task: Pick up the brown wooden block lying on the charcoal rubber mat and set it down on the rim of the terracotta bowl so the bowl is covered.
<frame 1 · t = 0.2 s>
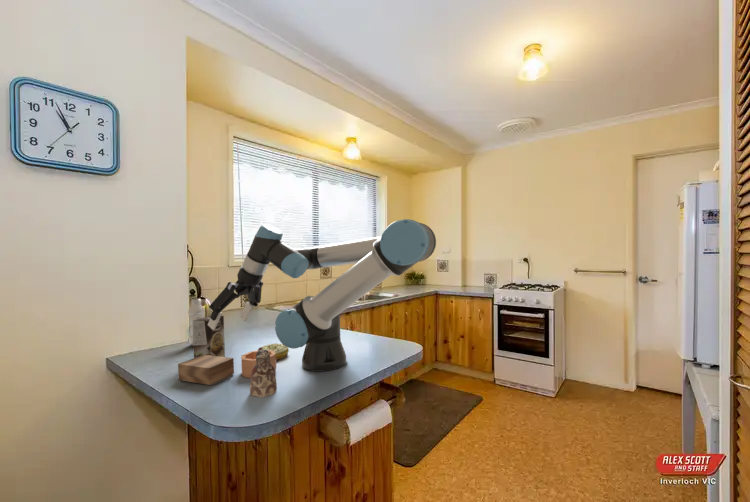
hand: (227, 323, 112), 16 cm above the countertop, fingers open, 13 cm apart
coffee box: (210, 362, 121), on the countertop
plastic bottle: (197, 345, 144), on the countertop
mat: (206, 377, 106), on the countertop
brown wooden block: (206, 376, 106), resting on mat
bowl: (259, 371, 109), on the countertop
decorated donut: (272, 358, 124), on the countertop
figurine: (263, 392, 93), on the countertop
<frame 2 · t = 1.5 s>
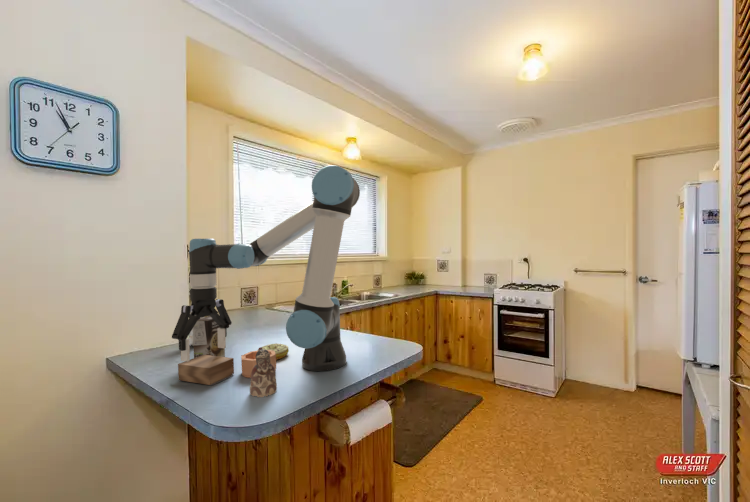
hand: (204, 353, 106), 8 cm above the countertop, fingers open, 13 cm apart
nothing on the countertop moved.
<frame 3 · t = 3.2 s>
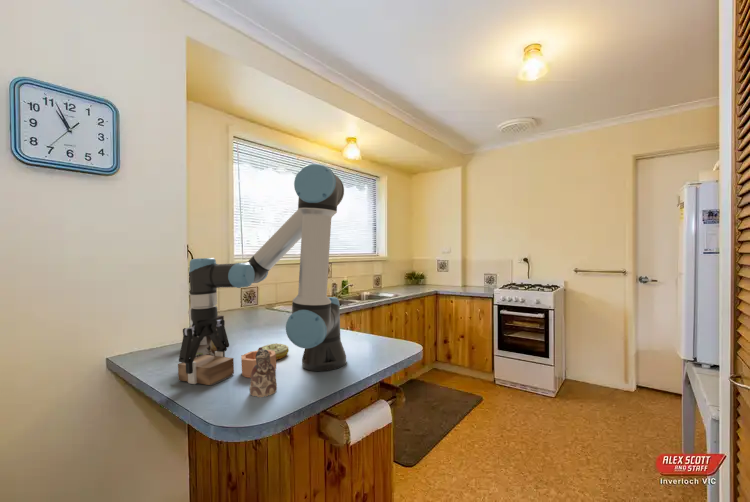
hand: (206, 376, 106), 0 cm above the countertop, fingers closed on brown wooden block, 9 cm apart
brown wooden block: (206, 376, 105), resting on mat, touching gripper
everything else where it was.
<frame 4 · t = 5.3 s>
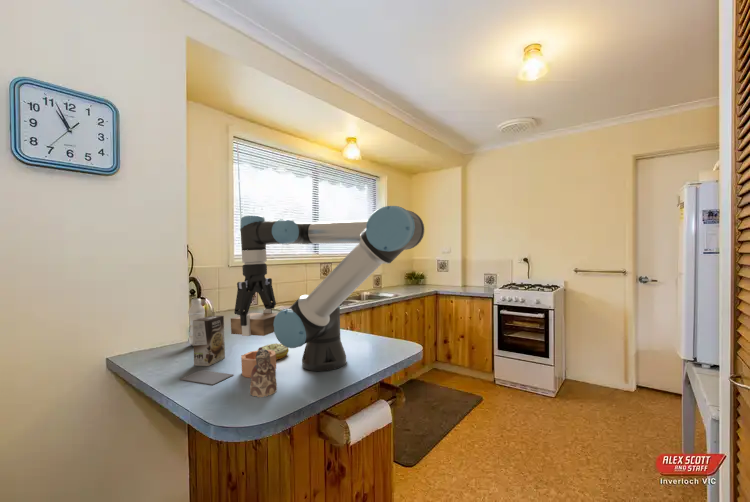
hand: (257, 331, 109), 13 cm above the countertop, fingers closed on brown wooden block, 9 cm apart
brown wooden block: (257, 331, 109), point 13 cm above the countertop, touching gripper
everything else where it was.
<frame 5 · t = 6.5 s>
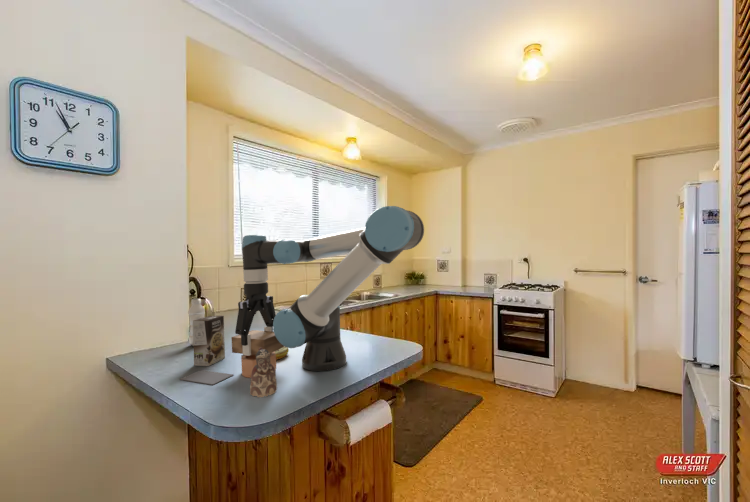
hand: (258, 350, 109), 7 cm above the countertop, fingers closed on brown wooden block, 9 cm apart
brown wooden block: (258, 349, 109), point 7 cm above the countertop, touching gripper
everything else where it was.
when the fingers open (7 cm above the countertop, at t = 7.3 s): brown wooden block drops 2 cm, resting on bowl.
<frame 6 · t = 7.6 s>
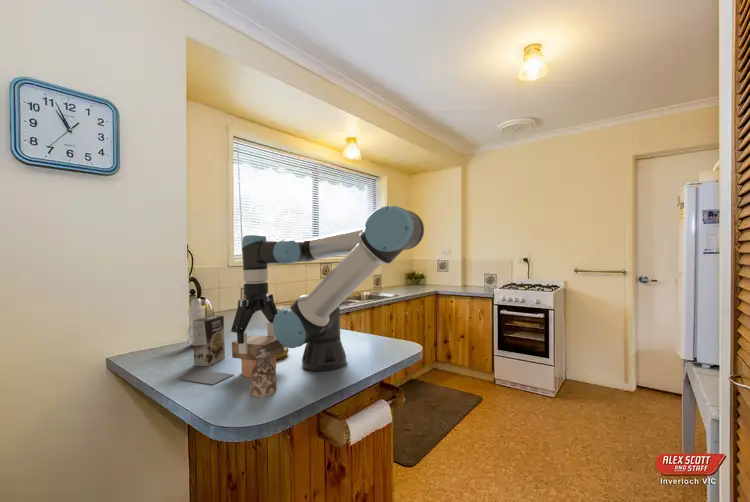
hand: (258, 347, 109), 8 cm above the countertop, fingers open, 13 cm apart
brown wooden block: (258, 354, 109), point 6 cm above the countertop, touching bowl
everything else where it was.
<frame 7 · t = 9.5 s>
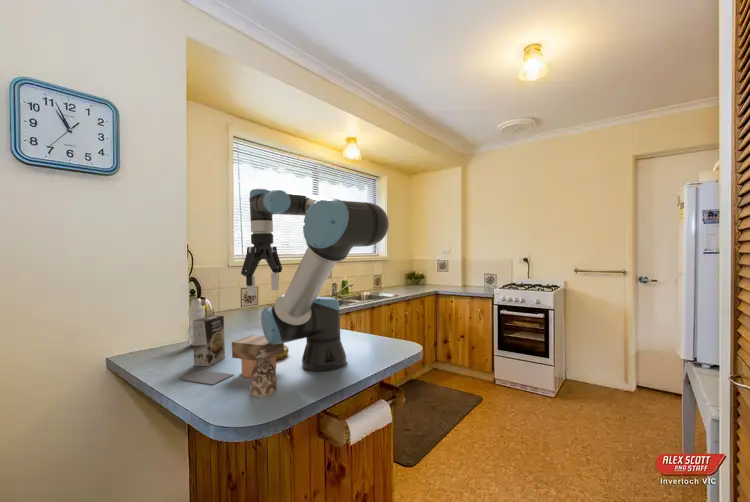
hand: (264, 292, 119), 25 cm above the countertop, fingers open, 13 cm apart
nothing on the countertop moved.
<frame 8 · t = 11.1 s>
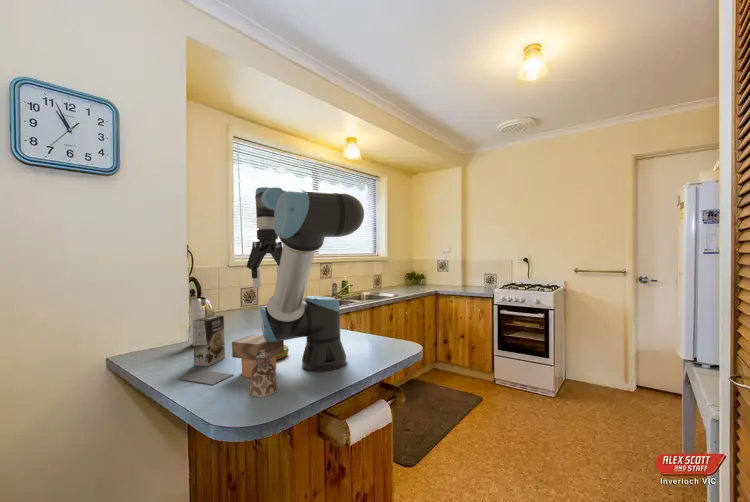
hand: (269, 285, 125), 27 cm above the countertop, fingers open, 13 cm apart
brown wooden block: (258, 354, 109), point 6 cm above the countertop, touching arm, bowl
everything else where it was.
at the end: brown wooden block 0.4 cm off-centre on the bowl, point 5.6 cm above the bowl's base; brown wooden block tilted 0°; the gripper is holding nothing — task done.
